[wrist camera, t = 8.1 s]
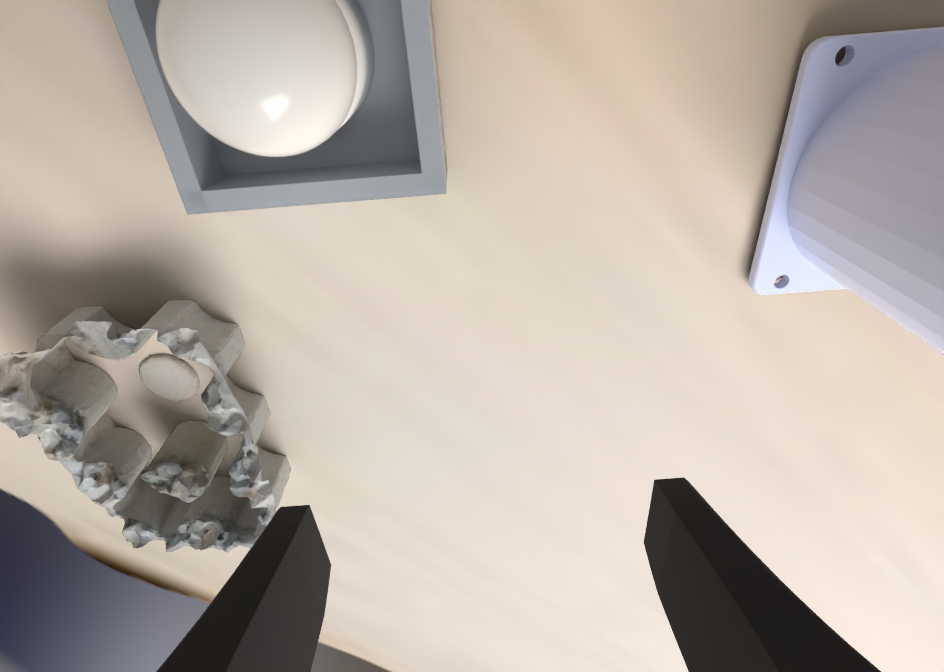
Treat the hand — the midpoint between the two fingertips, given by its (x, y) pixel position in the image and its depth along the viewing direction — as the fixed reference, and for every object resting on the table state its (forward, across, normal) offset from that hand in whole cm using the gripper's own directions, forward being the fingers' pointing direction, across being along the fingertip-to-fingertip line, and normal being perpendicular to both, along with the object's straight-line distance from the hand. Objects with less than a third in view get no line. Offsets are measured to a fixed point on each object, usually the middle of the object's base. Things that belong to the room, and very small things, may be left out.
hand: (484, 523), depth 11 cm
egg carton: (+10, +12, +4) cm, 16 cm away
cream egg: (+9, +4, -9) cm, 13 cm away
